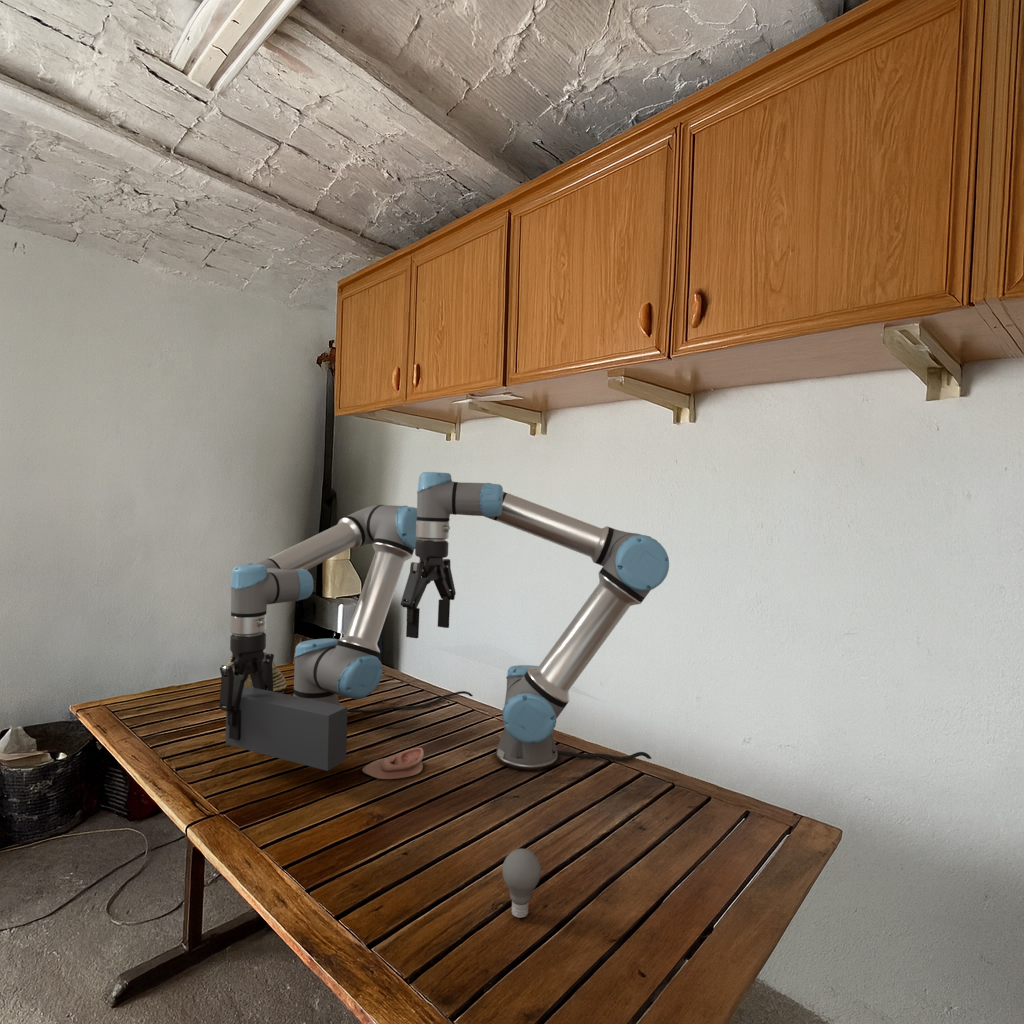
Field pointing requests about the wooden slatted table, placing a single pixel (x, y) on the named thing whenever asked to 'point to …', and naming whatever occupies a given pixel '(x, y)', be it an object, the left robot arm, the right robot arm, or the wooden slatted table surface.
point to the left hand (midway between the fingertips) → (246, 733)
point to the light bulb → (521, 878)
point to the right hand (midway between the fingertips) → (428, 632)
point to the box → (292, 728)
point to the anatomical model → (397, 765)
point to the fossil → (278, 679)
